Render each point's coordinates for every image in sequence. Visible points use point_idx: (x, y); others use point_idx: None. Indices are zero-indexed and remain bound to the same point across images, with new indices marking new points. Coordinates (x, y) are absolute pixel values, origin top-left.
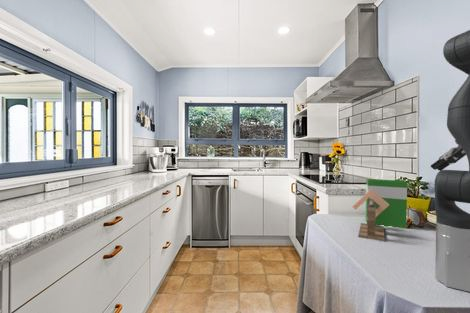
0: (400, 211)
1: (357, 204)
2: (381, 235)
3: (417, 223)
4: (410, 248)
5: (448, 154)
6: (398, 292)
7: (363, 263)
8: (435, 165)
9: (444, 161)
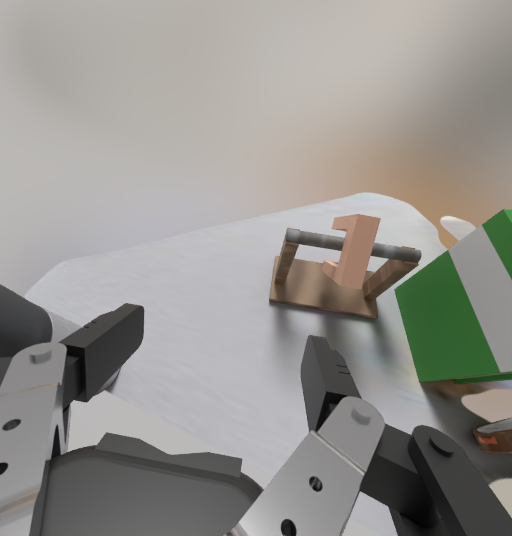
0: (451, 358)
1: (337, 221)
2: (291, 297)
3: (483, 429)
4: (245, 342)
5: (16, 392)
6: (56, 274)
7: (142, 249)
8: (310, 368)
9: (73, 348)
